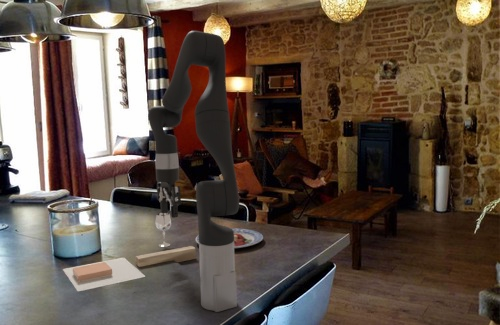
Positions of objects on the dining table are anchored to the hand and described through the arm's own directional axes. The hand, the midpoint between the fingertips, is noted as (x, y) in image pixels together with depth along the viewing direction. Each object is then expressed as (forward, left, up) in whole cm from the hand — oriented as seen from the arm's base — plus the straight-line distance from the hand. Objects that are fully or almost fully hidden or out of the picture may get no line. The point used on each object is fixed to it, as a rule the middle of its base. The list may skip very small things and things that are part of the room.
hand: (169, 215), depth 158 cm
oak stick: (+1, +1, -17) cm, 17 cm away
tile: (+1, +21, -14) cm, 25 cm away
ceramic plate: (+9, -27, -17) cm, 33 cm away
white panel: (+1, +23, -16) cm, 28 cm away
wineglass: (+20, -5, -17) cm, 26 cm away
